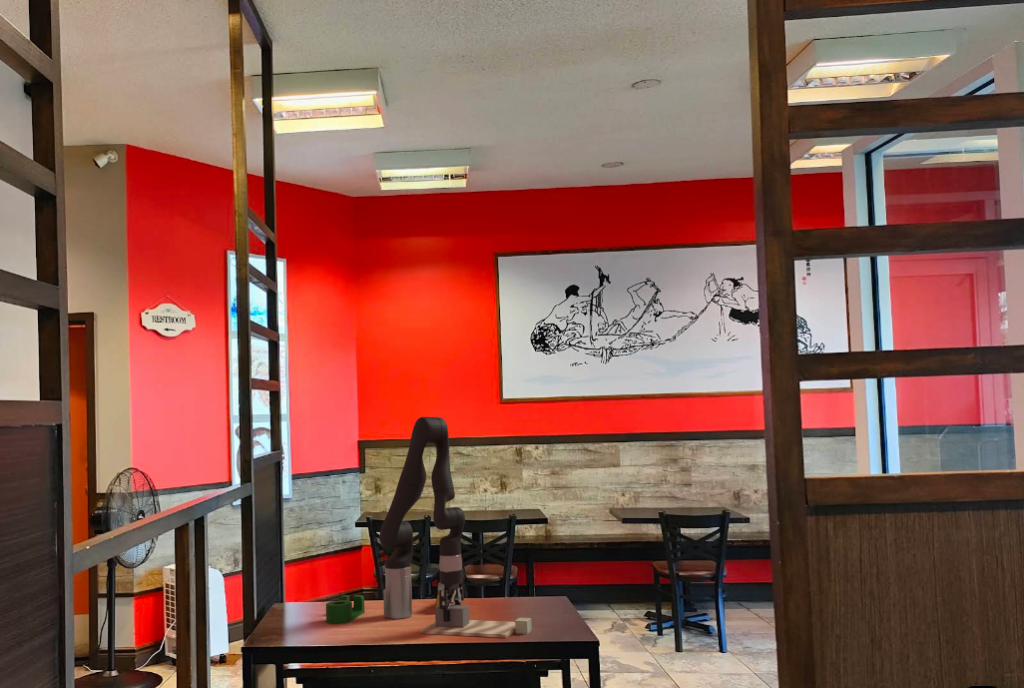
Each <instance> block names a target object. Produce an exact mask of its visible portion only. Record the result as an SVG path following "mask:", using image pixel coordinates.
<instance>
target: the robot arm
mask: <svg viewBox="0 0 1024 688" xmlns="http://www.w3.org/2000/svg"><path fill="white" fill-rule="evenodd" d="M427 444H434V446H435V451H436V458H435V462H434V464H433V468H432V471H431V477H430V479H431V486H432V492H433V496H434V504H433V507H434V508H433V516H432V517H433V523H434V526H435V527H436V529H438V530H440V531H446V530H449V533H448V534H447V535H445V536H443V537H441V538H440V539H439V583H441V584H443V585H444V590H440V591H439V609H442V610H443V621H444V622H449V621H450V606H451V605H462V602H463V601H465V594H464V593H465V592H464V583H463V559H462V552H461V551H462V548H461V541H462V537H463V536H462V535H463V532H464V529H465V528H464V527H465V523H466V515H465V512H464V510H463V509H462V508H461V507H459V506H453V507H446V503H448V502H450V501H453V500H454V499H455V496H456V494H455V493H456V492H455V487H454V482H453V478H452V472H451V471H452V470H451V461H450V437H449V428H448V424H447V422H446V421H445V418H442V417H439V416H438V417H437V416H420V417H418V418H417V420H415V423H414V425H413V428H412V433H411V436H410V441H409V445H408V450H407V455H406V458H405V461H404V465H403V467H402V471H401V473H400V476H399V478H398V482H397V485H396V489H395V493H394V495H393V498H392V501H391V504H390V507H389V508H388V511H387V513H386V516H385V518H384V520H383V523H382V524H381V527H380V531H379V543H380V545H381V546H382V547H383V548H384V549H387V550H391V549H394V551H393V552H392V554H391V555H390V556H389V557H387V558H386V559H385V561H384V568H385V569H384V570H385V572H384V573H385V575H384V576H385V588H384V589H383V591H382V592H383V593H382V594H383V596H382V597H383V617H384V618H387V619H394V620H395V619H397V620H398V619H405V618H406V619H407V618H411V617H413V596H412V594H413V592H412V560H413V555H414V554H413V553H414V552H413V551H414V532H413V528H412V525H411V523H410V522H408V521H407V520H404V518H405V517H406V515H407V514H408V512H409V511H410V510H411V509H412V508H413V506H414V505H416V503H417V502H418V501H419V500H420V498H421V496H422V494H423V491H424V489H425V485H426V483H427V482H426V481H427V471H426V467H425V464H424V457H423V456H424V452H425V448H426V446H427ZM442 602H443V605H442Z"/></svg>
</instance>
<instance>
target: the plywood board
mask: <svg viewBox="0 0 1024 688" xmlns="http://www.w3.org/2000/svg"><path fill="white" fill-rule="evenodd" d="M514 633H516V629H515V621H500V620H499V621H495V620H479V619H478V620H477V619H469V625H467V626H465V627H464V628H457V627H437V626H436V623H435V621H434V622H432V623H431V624H428V625H427V626H425V627H423V628H422V629H419V634H427V635H446V636H463V637H464V636H466V637H479V638H480V637H484V638H502V639H503V638H504V639H506V638H508V637H510V636H511V635H512V634H514Z"/></svg>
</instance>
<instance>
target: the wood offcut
mask: <svg viewBox="0 0 1024 688" xmlns="http://www.w3.org/2000/svg"><path fill="white" fill-rule="evenodd" d="M514 622H515V629H516V631H515V634H518V635H519V634H521V635H522V634H524V635H528V634H530V633H531V632H532V618H530V617H518V618H517V619H515V621H514Z"/></svg>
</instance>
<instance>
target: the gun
mask: <svg viewBox="0 0 1024 688" xmlns="http://www.w3.org/2000/svg"><path fill="white" fill-rule="evenodd" d="M440 590H444V585H443V584H441V583H440V582H438V583H437V596H436V599H435V605H434V609H435V608H436V607H438V606H439V591H440ZM442 605H443V602H442Z"/></svg>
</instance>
